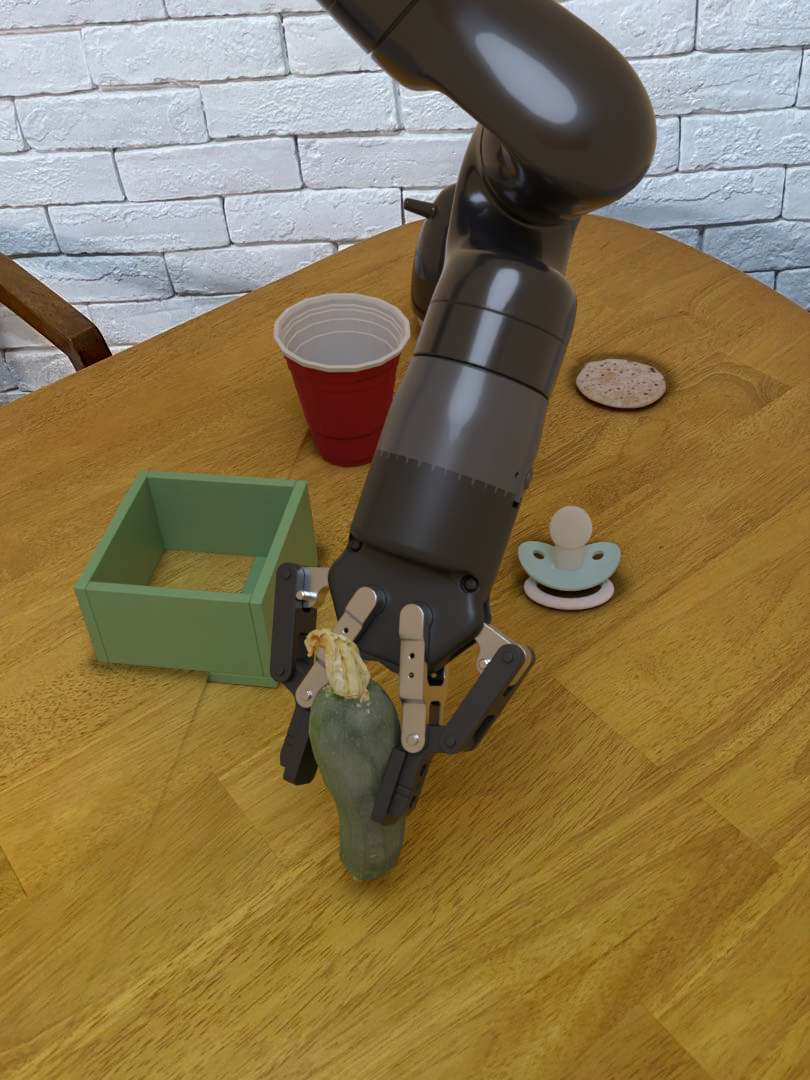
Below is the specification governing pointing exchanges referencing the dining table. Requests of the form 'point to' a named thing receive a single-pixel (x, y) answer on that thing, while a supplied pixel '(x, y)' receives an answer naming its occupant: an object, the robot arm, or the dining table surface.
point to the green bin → (183, 614)
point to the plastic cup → (343, 369)
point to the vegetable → (355, 754)
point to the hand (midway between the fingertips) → (340, 800)
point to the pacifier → (569, 562)
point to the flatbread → (621, 383)
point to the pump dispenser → (429, 248)
